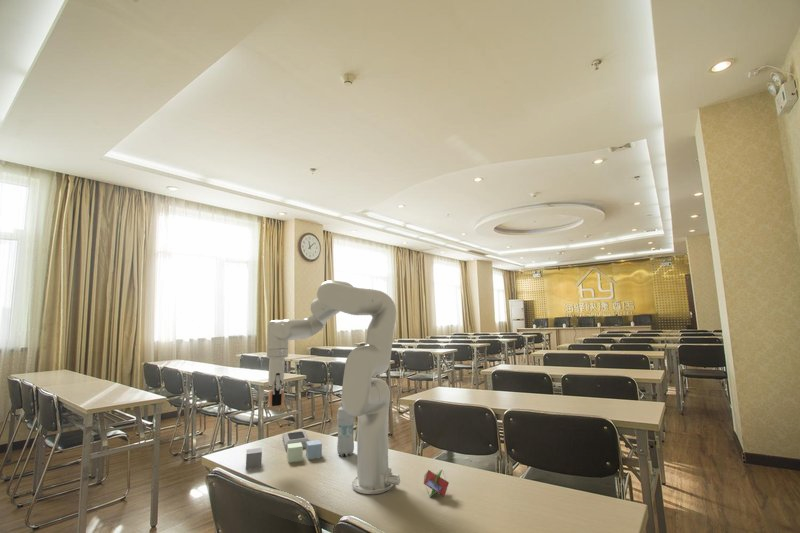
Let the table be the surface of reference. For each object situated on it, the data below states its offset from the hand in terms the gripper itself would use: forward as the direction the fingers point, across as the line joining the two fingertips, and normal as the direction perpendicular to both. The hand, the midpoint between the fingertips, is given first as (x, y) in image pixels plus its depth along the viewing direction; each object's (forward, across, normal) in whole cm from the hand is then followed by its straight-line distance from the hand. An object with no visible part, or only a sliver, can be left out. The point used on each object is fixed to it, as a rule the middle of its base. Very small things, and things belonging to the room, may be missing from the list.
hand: (276, 403), depth 136 cm
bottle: (+21, +3, +25) cm, 33 cm away
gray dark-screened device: (+21, -18, +10) cm, 29 cm away
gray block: (+21, 0, -7) cm, 22 cm away
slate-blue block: (+21, 0, +14) cm, 25 cm away
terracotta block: (+1, 0, 0) cm, 1 cm away
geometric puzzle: (+21, +46, +42) cm, 65 cm away
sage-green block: (+21, 0, +7) cm, 22 cm away
